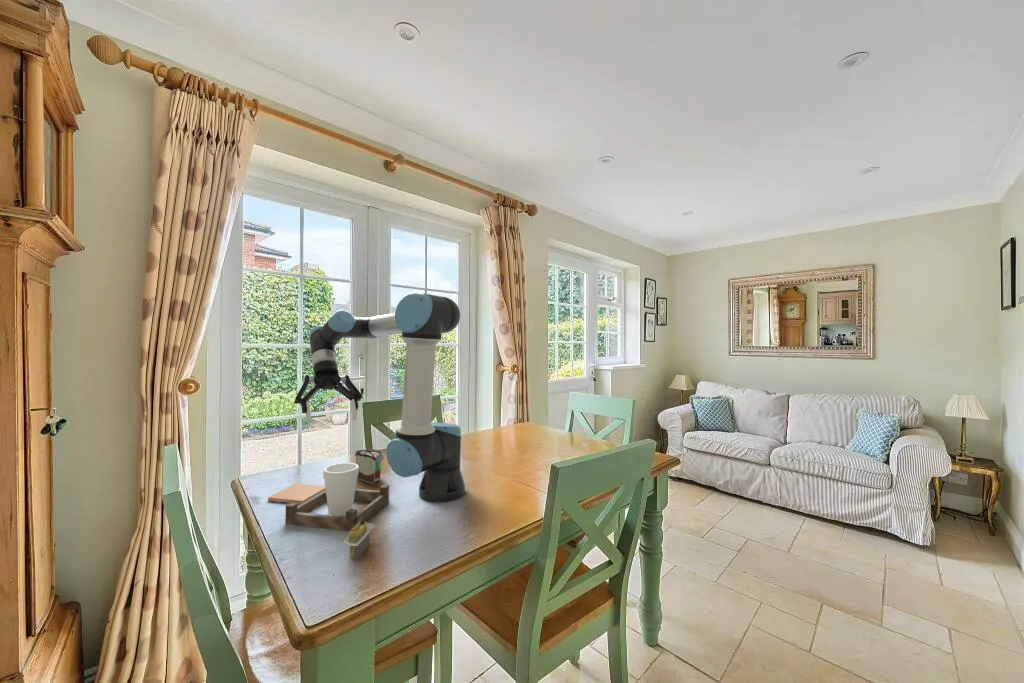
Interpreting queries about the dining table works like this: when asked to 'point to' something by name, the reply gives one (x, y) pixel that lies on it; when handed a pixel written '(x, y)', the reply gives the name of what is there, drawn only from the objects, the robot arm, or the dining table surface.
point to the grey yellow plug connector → (358, 538)
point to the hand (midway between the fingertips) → (332, 419)
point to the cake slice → (369, 465)
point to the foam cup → (340, 487)
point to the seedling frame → (303, 518)
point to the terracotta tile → (297, 493)
